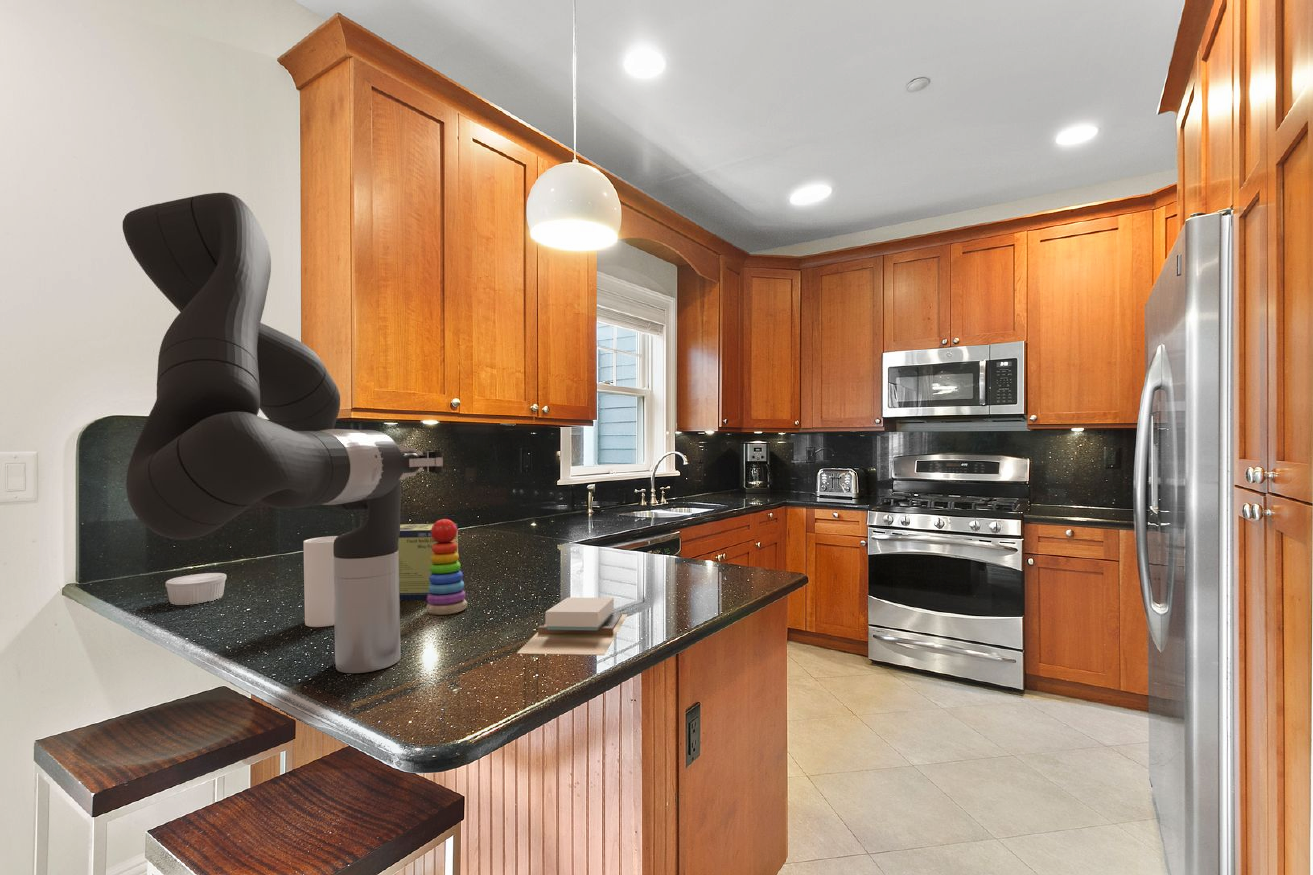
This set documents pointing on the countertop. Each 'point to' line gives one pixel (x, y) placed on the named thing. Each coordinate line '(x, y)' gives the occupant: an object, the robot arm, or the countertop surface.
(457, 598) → the stacking toy
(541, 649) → the board
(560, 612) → the tile
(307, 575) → the cup
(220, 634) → the countertop surface
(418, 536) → the protein box
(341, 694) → the countertop surface
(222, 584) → the ramekin
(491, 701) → the countertop surface
